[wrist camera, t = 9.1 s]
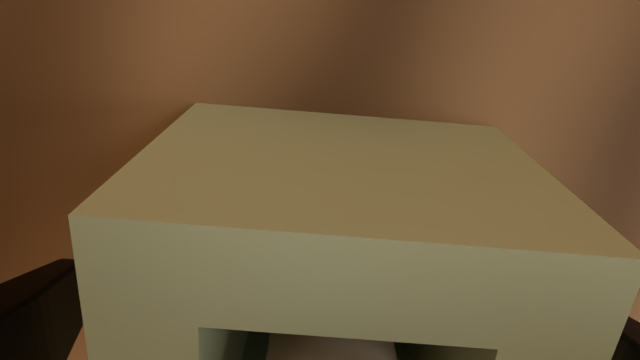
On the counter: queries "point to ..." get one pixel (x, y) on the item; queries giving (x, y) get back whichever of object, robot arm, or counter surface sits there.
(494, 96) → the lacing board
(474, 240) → the square hollow cube
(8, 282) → the robot arm
